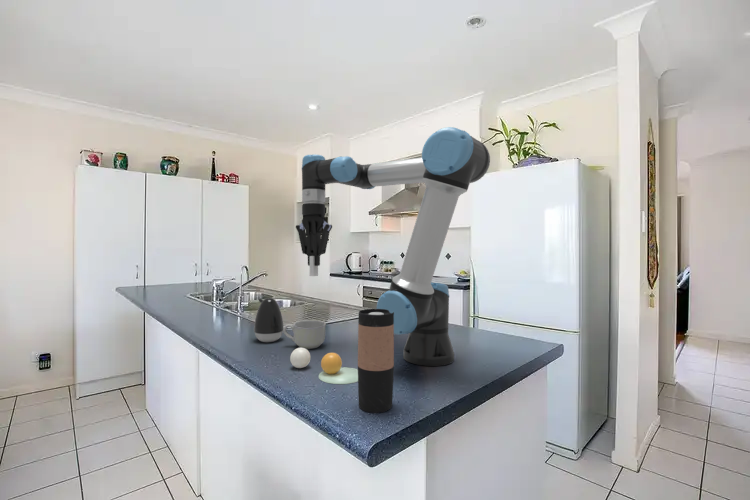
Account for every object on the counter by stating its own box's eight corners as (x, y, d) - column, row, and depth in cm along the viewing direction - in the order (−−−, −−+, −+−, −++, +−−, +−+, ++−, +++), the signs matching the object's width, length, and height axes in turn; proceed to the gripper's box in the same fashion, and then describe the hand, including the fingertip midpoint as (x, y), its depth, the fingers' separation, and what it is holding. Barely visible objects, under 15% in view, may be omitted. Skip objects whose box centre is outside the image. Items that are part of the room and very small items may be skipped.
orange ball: (327, 367, 103) (344, 373, 100) (315, 373, 98) (332, 379, 95) (330, 347, 102) (347, 353, 100) (318, 352, 97) (335, 359, 95)
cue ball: (296, 349, 107) (303, 367, 106) (283, 354, 103) (290, 373, 101) (309, 342, 105) (317, 360, 104) (296, 347, 100) (304, 366, 99)
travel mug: (351, 410, 77) (352, 313, 77) (365, 396, 84) (366, 307, 84) (386, 416, 74) (387, 316, 74) (398, 401, 81) (398, 310, 81)
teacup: (328, 343, 130) (329, 320, 130) (321, 351, 119) (321, 326, 119) (289, 341, 131) (290, 318, 131) (279, 350, 120) (279, 325, 120)
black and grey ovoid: (270, 335, 140) (271, 295, 139) (289, 339, 133) (289, 297, 133) (247, 341, 131) (247, 298, 131) (266, 345, 125) (266, 300, 125)
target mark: (372, 372, 100) (372, 371, 100) (349, 387, 89) (349, 386, 89) (335, 365, 105) (335, 364, 105) (309, 379, 95) (309, 378, 95)
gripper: (290, 203, 121) (290, 276, 121) (324, 201, 116) (324, 277, 116) (304, 205, 128) (304, 274, 128) (336, 203, 123) (336, 275, 123)
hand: (313, 275), depth 122 cm, fingers closed
